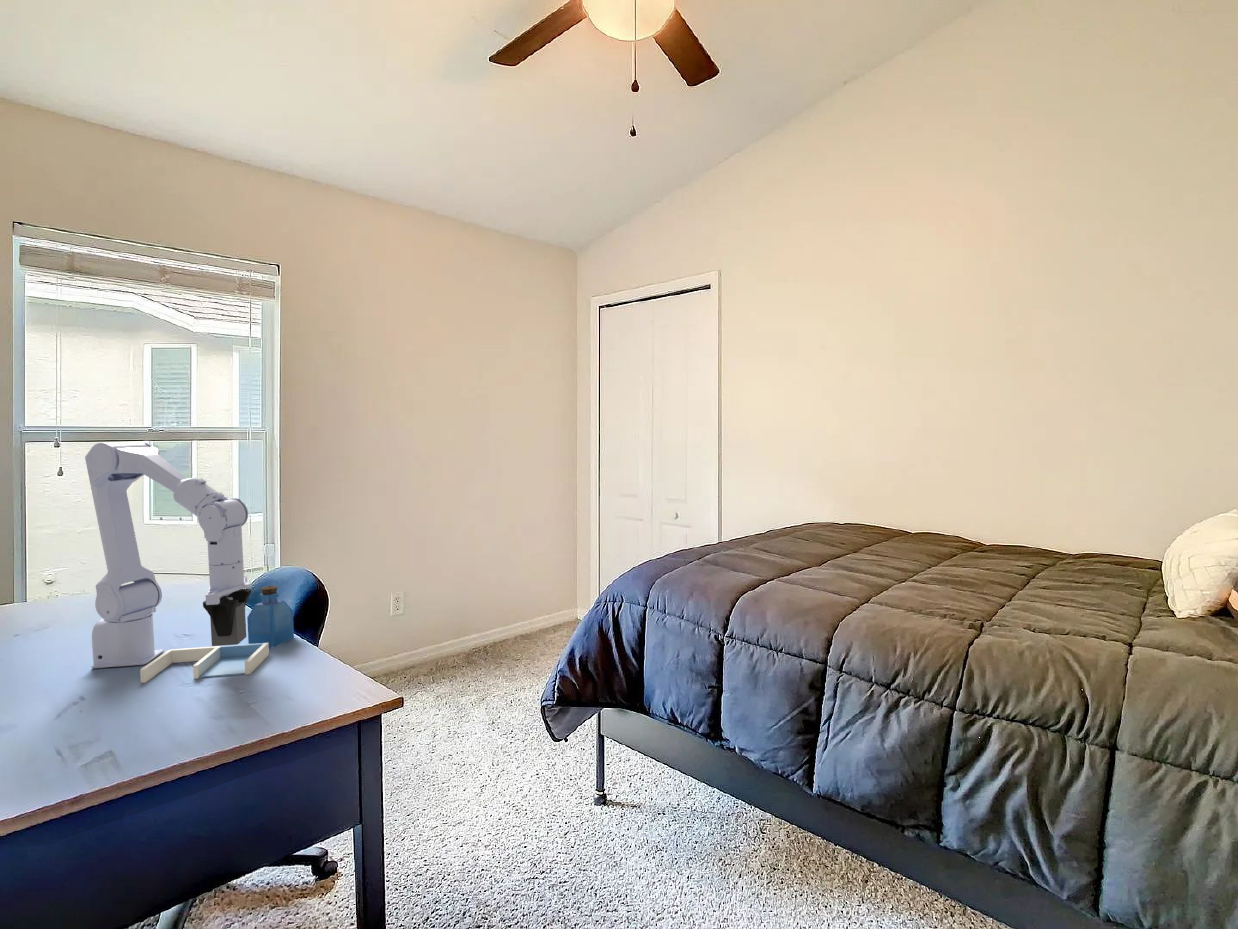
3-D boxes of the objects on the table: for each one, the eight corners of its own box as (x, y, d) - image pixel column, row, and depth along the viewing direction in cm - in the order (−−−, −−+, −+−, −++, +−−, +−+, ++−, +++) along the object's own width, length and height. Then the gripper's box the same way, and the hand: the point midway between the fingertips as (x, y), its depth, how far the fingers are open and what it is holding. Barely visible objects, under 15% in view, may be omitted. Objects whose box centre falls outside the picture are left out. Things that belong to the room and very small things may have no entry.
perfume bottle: (273, 647, 138) (271, 591, 137) (248, 645, 139) (245, 590, 138) (293, 637, 144) (291, 584, 143) (269, 636, 145) (267, 583, 144)
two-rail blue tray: (140, 682, 119) (140, 669, 119) (169, 661, 130) (168, 649, 129) (249, 674, 123) (249, 661, 122) (269, 654, 133) (268, 642, 133)
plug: (211, 646, 123) (209, 602, 123) (221, 638, 127) (219, 596, 127) (237, 644, 124) (235, 600, 123) (246, 636, 128) (244, 594, 128)
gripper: (234, 569, 118) (237, 642, 119) (261, 553, 133) (264, 619, 133) (191, 571, 117) (195, 645, 118) (224, 555, 131) (227, 621, 132)
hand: (229, 631), depth 126 cm, fingers closed on plug, 4 cm apart
